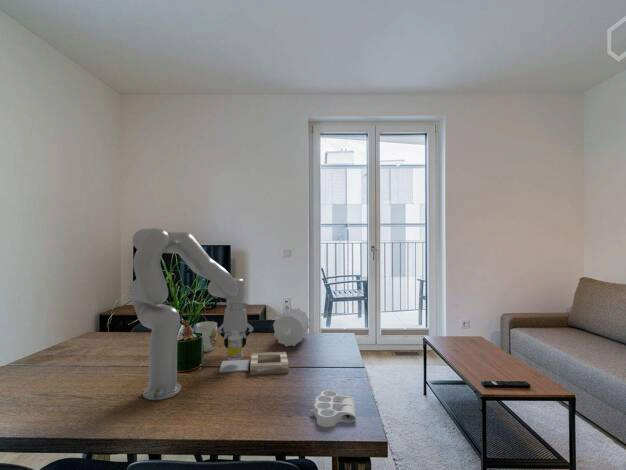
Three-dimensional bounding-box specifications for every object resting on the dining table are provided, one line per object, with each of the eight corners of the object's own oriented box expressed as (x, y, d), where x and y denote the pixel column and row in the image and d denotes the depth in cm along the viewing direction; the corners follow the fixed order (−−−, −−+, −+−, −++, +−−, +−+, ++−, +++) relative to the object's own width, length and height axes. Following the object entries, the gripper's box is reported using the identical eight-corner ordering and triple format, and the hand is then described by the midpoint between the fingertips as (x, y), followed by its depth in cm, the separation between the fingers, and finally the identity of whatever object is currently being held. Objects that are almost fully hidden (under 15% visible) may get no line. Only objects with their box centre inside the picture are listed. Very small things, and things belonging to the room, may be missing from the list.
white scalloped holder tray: (356, 430, 97) (307, 427, 99) (354, 401, 115) (313, 398, 117) (356, 418, 98) (307, 415, 99) (354, 391, 115) (313, 389, 117)
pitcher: (225, 344, 176) (226, 318, 176) (207, 355, 159) (207, 327, 159) (207, 343, 179) (207, 317, 179) (187, 353, 161) (187, 325, 162)
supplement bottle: (231, 355, 149) (231, 326, 150) (245, 356, 148) (245, 327, 149) (224, 360, 143) (225, 330, 143) (239, 361, 142) (239, 331, 142)
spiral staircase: (302, 342, 193) (295, 355, 169) (276, 328, 196) (265, 338, 171) (316, 314, 194) (310, 323, 169) (289, 301, 196) (280, 307, 171)
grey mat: (248, 371, 140) (248, 369, 140) (219, 372, 138) (219, 371, 139) (249, 361, 152) (249, 359, 152) (222, 362, 150) (222, 360, 150)
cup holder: (288, 372, 139) (288, 364, 139) (250, 374, 136) (250, 366, 137) (286, 359, 155) (286, 351, 155) (251, 360, 152) (251, 353, 152)
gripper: (255, 304, 151) (255, 343, 151) (216, 305, 148) (216, 345, 148) (255, 307, 143) (254, 348, 143) (214, 308, 141) (213, 350, 141)
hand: (235, 346), depth 146 cm, fingers closed on supplement bottle, 6 cm apart
